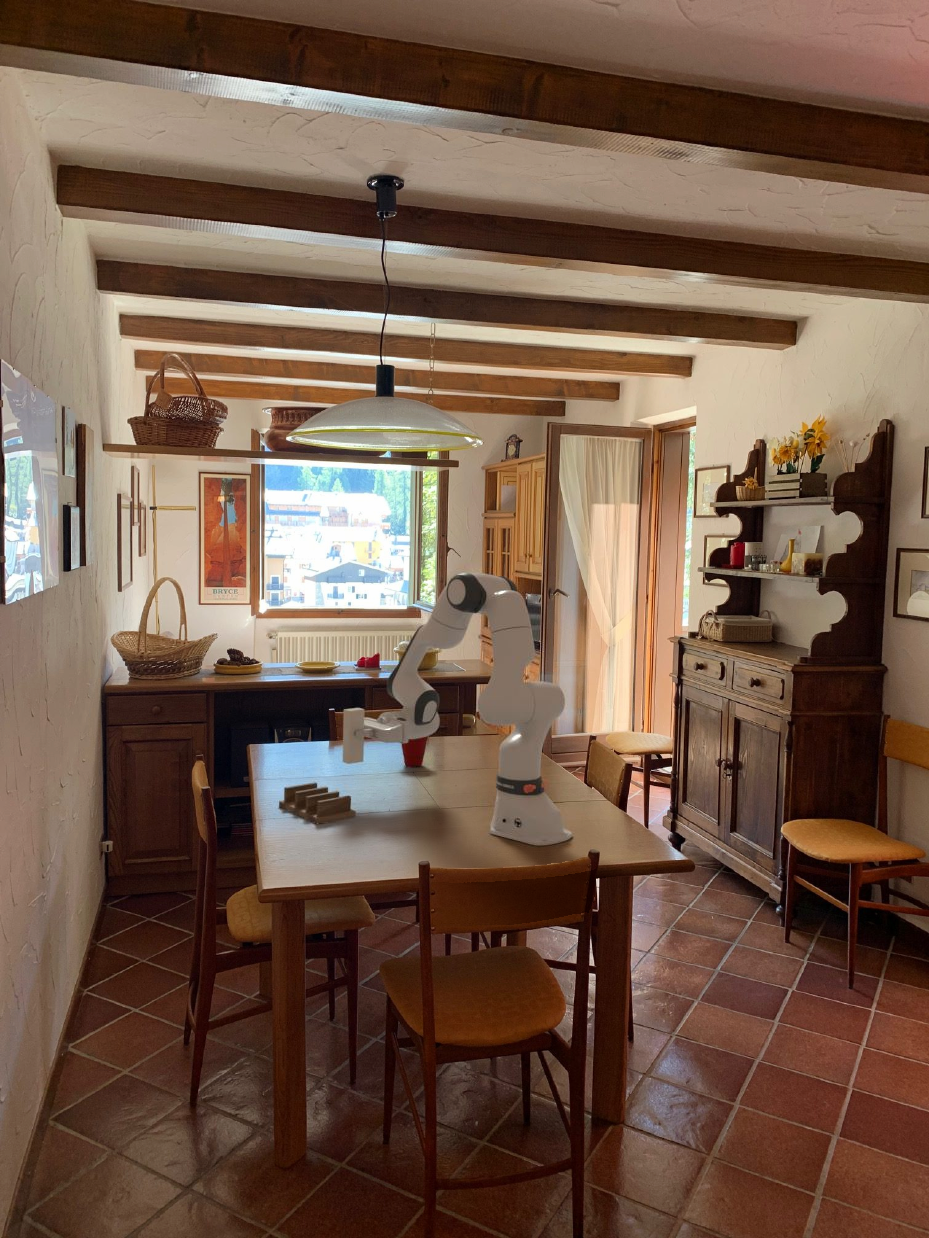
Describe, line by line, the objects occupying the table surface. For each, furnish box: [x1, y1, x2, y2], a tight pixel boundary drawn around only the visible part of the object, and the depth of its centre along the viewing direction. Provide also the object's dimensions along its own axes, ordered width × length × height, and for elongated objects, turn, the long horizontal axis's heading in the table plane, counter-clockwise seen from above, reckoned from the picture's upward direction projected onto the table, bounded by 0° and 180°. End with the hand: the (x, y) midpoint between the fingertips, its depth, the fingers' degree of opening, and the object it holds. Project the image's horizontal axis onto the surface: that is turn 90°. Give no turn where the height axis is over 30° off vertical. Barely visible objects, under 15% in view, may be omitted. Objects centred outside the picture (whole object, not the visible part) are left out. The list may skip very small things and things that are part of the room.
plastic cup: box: [400, 736, 429, 768], centre depth 311 cm, size 11×11×12 cm
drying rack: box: [278, 781, 357, 824], centre depth 254 cm, size 20×12×6 cm, turn 42°
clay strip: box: [342, 707, 365, 765], centre depth 261 cm, size 3×5×15 cm, turn 131°
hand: (351, 732), depth 260 cm, fingers closed on clay strip, 3 cm apart
